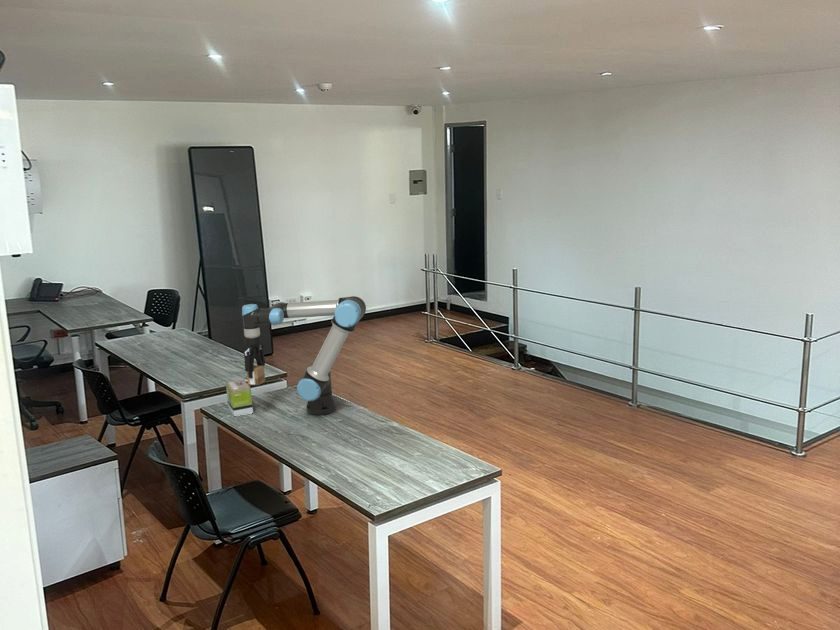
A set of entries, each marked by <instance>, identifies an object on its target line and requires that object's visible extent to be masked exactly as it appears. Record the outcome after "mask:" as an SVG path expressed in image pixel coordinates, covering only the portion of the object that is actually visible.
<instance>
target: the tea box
mask: <svg viewBox="0 0 840 630" xmlns="http://www.w3.org/2000/svg"><path fill="white" fill-rule="evenodd" d="M251 388H252V387H251V385H250V384H248V382H247V381H245V379H241V380H236V381H235V380H234V381H229V382H225V389H226V395H227V396H226V398H227V406H228V410H229V412H230V413H231V414H232V416H233V415H234V416H240V415H245V416H247V415H246V414H250V415H253V414H254V405H253V399H252V389H251ZM252 413H253V414H252ZM234 416H233V417H234ZM240 417H241V416H240Z"/></svg>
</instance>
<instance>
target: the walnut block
mask: <svg viewBox="0 0 840 630" xmlns="http://www.w3.org/2000/svg"><path fill="white" fill-rule="evenodd" d="M253 371H254V374H255V385H254V386H260V385H261V384H263V383H266V373H265V365H264V366H258V365H257V364H256V365H255V364H254V366H253ZM246 377H247V379H246V380H247V384H248V385H249V386H251V385H252V384H250V379H249V372H247V371H246ZM252 386H253V385H252Z"/></svg>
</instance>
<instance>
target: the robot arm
mask: <svg viewBox="0 0 840 630" xmlns="http://www.w3.org/2000/svg"><path fill="white" fill-rule="evenodd" d="M241 307H242V308H241V316H242V324H243V334H244V345H245V346H247V348H246V350H245V351H243V356H244V371H245V372H246V373H247V372H249V379H250V384H252V386H256V385H255V374H254V371H253V366H254V365H255V362H256V365H257V366H264V367H265V366H266V359H265V351H264V348H265V347H264V345H260V344H261V343H262V341H261V340H262V339H261V331H260V330H261V329H260V325H279V324H282V323H283V322H284V319H295V318H296V319H298V318H312V317H314V318H315V317H332V318H331V324H332V325H331V327H330V330H329V332H328V334H327V336H326V338H325V340H324V342H323V344H322V346H321V348H320V350H319V352H318V353H317V356H316V358H315V359H314V361H313V364H312V365H311V366H308V367H306V370H305V372H304V375H303V376H302V377H301V379H300V380H299V382H298V383H297V386H296V392H297V394H298V396H299V397H300V398H301V399H302V400H303V401H306V402H307V403H306V413H308V414H309V415H314V416H315V415H316V416H317V415H318V416H321V415H327V414H331V413H334V412H336V411H337V409H338V408H337V407H338V406H337V403H336V400H335V398H334V395H333V389H332V388H333V387H332V375H331V373H332V372H331V369H332V368H333V365H334V363H335V361H336V360H337V358H338V356H339V353H340V352H341V350H342V347H343V346H344V344H345V342H346V340H347V338H348V336H349V334H351V333H354V331H355V330H356V328H357V325H358V324H359V322H360V321H361V319H362V318H363V317H364V315H365V314H366V311H367V306H366V303H365V301H364V300H363V299H362V298H361V297H359V296H354V295H353V296H345V297H338V298H337V299H332V300H315V301H314V300H313V301H299V302H284V301H281V302H280V301H279V302H277V303H275V304H274V305H272V306H270V307H268V308H259V307H258V304H255V303H249V304H244V305H242V306H241ZM250 384H249V385H250Z"/></svg>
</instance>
